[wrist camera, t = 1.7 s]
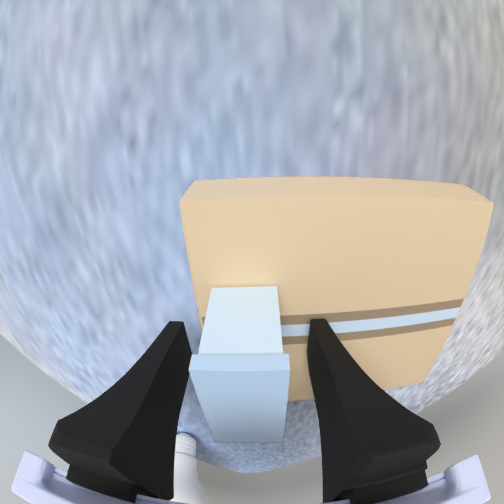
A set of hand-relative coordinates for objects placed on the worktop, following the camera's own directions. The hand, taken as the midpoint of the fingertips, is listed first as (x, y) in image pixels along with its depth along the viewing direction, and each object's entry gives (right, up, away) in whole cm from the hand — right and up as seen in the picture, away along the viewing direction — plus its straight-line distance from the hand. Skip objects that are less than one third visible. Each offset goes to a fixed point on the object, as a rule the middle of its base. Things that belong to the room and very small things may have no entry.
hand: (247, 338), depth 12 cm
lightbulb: (-6, -13, +11) cm, 19 cm away
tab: (0, 0, 0) cm, 0 cm away
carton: (+5, +2, +3) cm, 5 cm away
